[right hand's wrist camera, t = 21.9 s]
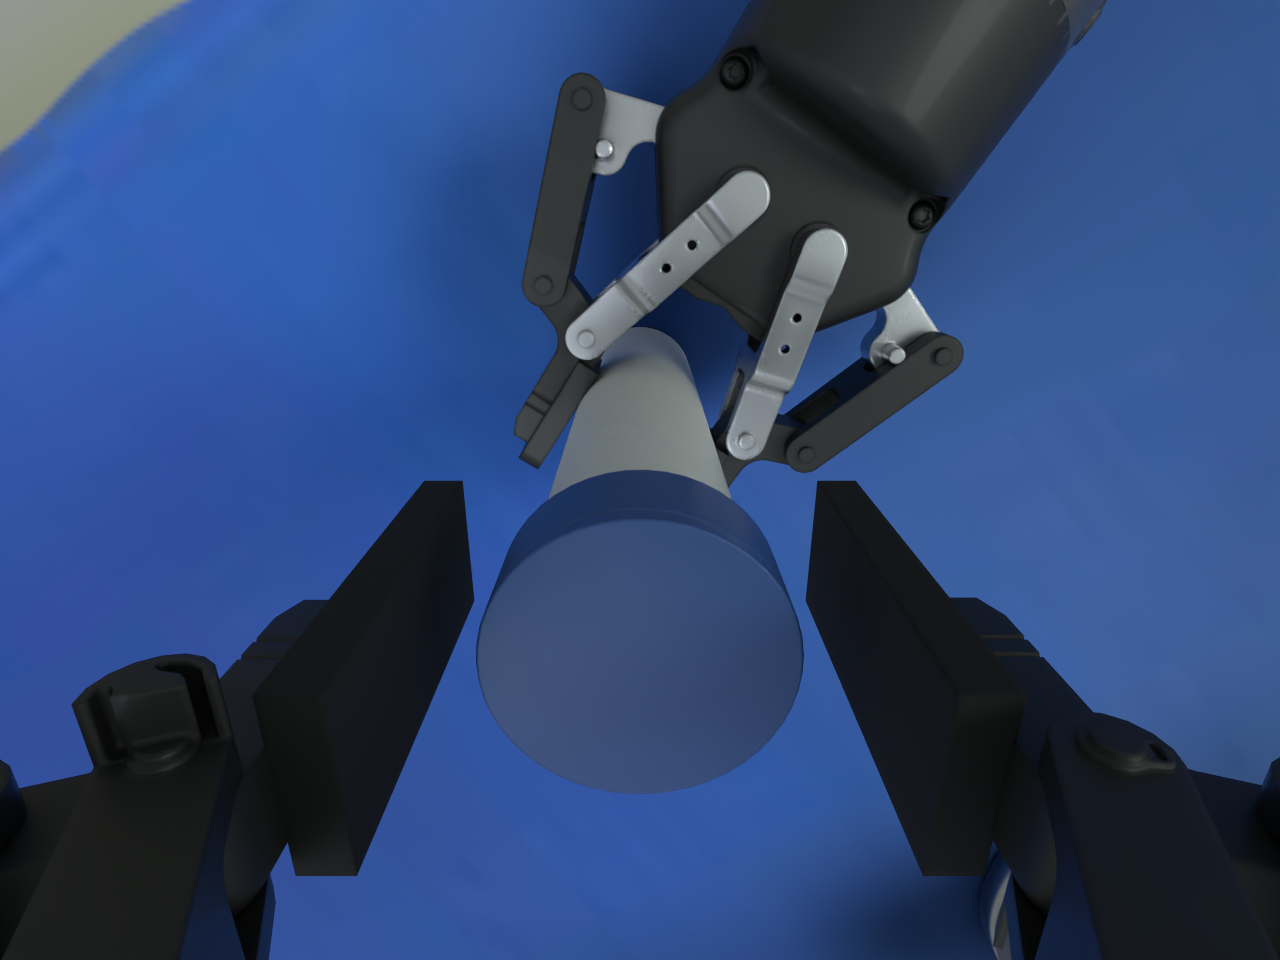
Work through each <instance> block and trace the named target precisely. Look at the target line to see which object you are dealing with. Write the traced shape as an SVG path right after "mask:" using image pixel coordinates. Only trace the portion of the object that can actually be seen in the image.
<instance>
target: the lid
mask: <svg viewBox="0 0 1280 960" xmlns="http://www.w3.org/2000/svg"><path fill="white" fill-rule="evenodd" d="M803 658H804V652H803V640H802V634H801V630H800V626H799V622H798V618H797V615H796V613H795V610H794V608H793V605H792V602H791V600H790V597H789V595H788V592H787V589H786V587H785V584H784V582H783V579H782V577H781V574H780V571H779V569H778V566H777V564H776V561H775V559H774V556H773V554H772V551H771V549H770V546H769V544H768V542H767V540H766V538H765V537H764V535H763V534H762V532H761V530H760V529H759V527H758V526H757V525H756V523H755V522H754V521H753V520H752V519H751V517H750V516H749V515H748V514H747V513H746V512H745V511H744V510H743V509H742V508H741V507H740V506H739V505H738V504H736V503H735V502H734V501H733V500H731V499H730V498H728V497H727V496H726V495H724V494H723V493H721V492H720V491H718V490H716V489H714V488H712V487H710V486H708V485H707V484H705V483H703V482H700V481H697V480H694V479H692V478H689V477H686V476H683V475H678V474H674V473H670V472H665V471H655V470H623V471H617V472H610V473H605V474H601V475H598V476H594V477H590V478H587V479H585V480H583V481H580V482H578V483H575V484H573V485H571V486H569V487H567V488H566V489H564V490H562V491H560V492H559V493H557V494H555V495H554V496H553V497H551V498H550V499H549V500H547V501H546V502H545V503H543V504H542V505H541V506H540V507H539V508H538V509H537V510H536V511H535V512H534V513H533V514H532V515H531V516H530V517H529V518H528V519H527V520H526V522H525V523H524V525H523V526H522V527H521V529H520V530H519V531H518V533H517V535H516V536H515V538H514V540H513V542H512V544H511V546H510V548H509V550H508V553H507V555H506V558H505V561H504V563H503V566H502V568H501V571H500V573H499V576H498V579H497V581H496V584H495V586H494V589H493V591H492V594H491V597H490V599H489V602H488V604H487V607H486V610H485V612H484V615H483V618H482V621H481V624H480V628H479V633H478V638H477V647H476V664H477V672H478V679H479V683H480V686H481V690H482V693H483V697H484V699H485V701H486V703H487V706H488V708H489V710H490V712H491V714H492V716H493V717H494V719H495V720H496V722H497V724H498V725H499V727H500V728H501V730H502V731H503V732H504V733H505V734H506V736H507V737H508V738H509V739H510V740H511V741H512V743H513V744H514V745H516V746H517V747H518V748H519V749H520V750H521V751H522V752H523V753H524V754H525V755H526V756H528V757H529V758H531V759H532V760H534V761H535V762H536V763H538V764H539V765H541V766H542V767H544V768H546V769H547V770H549V771H551V772H553V773H555V774H556V775H558V776H561V777H563V778H565V779H568V780H570V781H573V782H575V783H578V784H581V785H585V786H588V787H591V788H595V789H600V790H605V791H611V792H619V793H631V794H647V793H661V792H669V791H675V790H680V789H684V788H689V787H693V786H696V785H699V784H701V783H704V782H707V781H710V780H712V779H715V778H717V777H719V776H721V775H723V774H725V773H728V772H729V771H731V770H732V769H734V768H736V767H737V766H739V765H741V764H742V763H744V762H745V761H746V760H748V759H749V758H750V757H752V756H753V755H754V754H755V753H757V752H758V751H759V750H760V749H761V748H762V747H763V746H764V745H765V744H766V743H767V742H768V741H769V740H770V739H771V738H772V737H773V735H774V734H775V733H776V732H777V730H778V729H779V728H780V726H781V725H782V724H783V722H784V720H785V719H786V717H787V715H788V713H789V712H790V710H791V708H792V706H793V703H794V700H795V698H796V695H797V693H798V690H799V686H800V681H801V677H802V672H803Z"/></svg>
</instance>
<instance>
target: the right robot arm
mask: <svg viewBox="0 0 1280 960" xmlns="http://www.w3.org/2000/svg"><path fill="white" fill-rule="evenodd" d="M473 602H474V592H473V582H472V572H471V562H470V552H469V542H468V531H467V521H466V511H465V501H464V491H463V481H424V482H423V483H422V484H421V486H420V487H419V488H418V489H417V491H416V492H415V493H414V494H413V496H412V497H411V498H410V499H409V501H408V502H407V503H406V504H405V506H404V507H403V508H402V509H401V511H400V512H399V513H398V514H397V516H396V517H395V518H394V519H393V520H392V522H391V523H390V524H389V525H388V527H387V528H386V529H385V530H384V532H383V533H382V534H381V535H380V537H379V538H378V539H377V540H376V542H375V543H374V544H373V545H372V547H371V548H370V549H369V550H368V552H367V553H366V554H365V555H364V557H363V558H362V559H361V560H360V562H359V563H358V564H357V565H356V567H355V568H354V569H353V570H352V572H351V573H350V574H349V575H348V577H347V578H346V579H345V580H344V581H343V583H342V584H341V585H340V586H339V588H338V589H337V590H336V591H335V593H334V594H333V595H332V596H331V598H330V599H329V600H303V601H302V602H300V603H298V604H297V605H295V606H293V607H292V608H290V609H288V610H287V611H285V612H284V613H282V614H280V615H279V616H277V617H275V618H274V620H273V621H272V622H271V623H270V624H269V625H268V626H267V627H266V628H265V630H264V631H263V632H262V633H261V634H260V635H259V636H258V637H257V642H253V643H252V644H251V645H250V646H249V647H248V648H247V650H246V651H245V652H244V653H243V654H242V655H241V660H237V661H236V662H235V663H234V664H233V665H232V666H231V667H230V668H229V670H228V671H227V672H226V673H225V674H224V675H223V676H222V677H221V678H220V680H219V677H218V673H217V669H216V666H215V664H214V663H213V662H211V661H210V660H208V659H207V658H206V657H204V656H198V655H192V654H175V655H164V656H158V657H155V658H151V659H147V660H143V661H139V662H136V663H133V664H131V665H128V666H126V667H124V668H121V669H119V670H117V671H114V672H112V673H110V674H108V675H106V676H105V677H103V678H102V679H100V680H98V681H97V682H95V683H94V684H92V685H91V686H89V687H88V688H86V689H85V690H84V691H83V692H82V693H81V695H80V696H79V697H78V698H77V699H76V700H75V701H74V702H73V703H72V707H73V710H74V713H75V716H76V719H77V721H78V724H79V727H80V730H81V732H82V735H83V738H84V741H85V744H86V746H87V749H88V752H89V755H90V758H91V760H92V763H93V766H94V768H93V770H92V772H91V773H88V774H84V775H79V776H74V777H70V778H65V779H61V780H56V781H51V782H47V783H42V784H37V785H33V786H28V787H24V788H19V787H18V785H17V782H16V780H15V778H14V775H13V773H12V770H11V768H10V766H9V765H8V764H6V763H5V762H3V761H2V760H0V960H269V953H270V945H271V936H272V928H273V920H274V912H275V903H276V901H275V894H274V887H273V883H272V879H271V875H270V873H271V871H272V869H273V867H274V865H275V864H276V862H277V860H278V858H279V856H280V855H281V853H282V851H283V849H284V848H285V846H286V844H287V842H288V846H289V850H290V854H291V858H292V862H293V866H294V870H295V874H296V876H357V874H358V872H359V870H360V867H361V865H362V862H363V860H364V858H365V855H366V853H367V851H368V848H369V846H370V844H371V841H372V839H373V837H374V834H375V832H376V830H377V827H378V825H379V823H380V820H381V818H382V816H383V813H384V811H385V809H386V806H387V804H388V802H389V799H390V797H391V795H392V792H393V790H394V788H395V785H396V783H397V781H398V778H399V776H400V773H401V771H402V769H403V766H404V764H405V762H406V759H407V757H408V755H409V752H410V750H411V748H412V745H413V743H414V741H415V738H416V736H417V734H418V731H419V729H420V727H421V724H422V722H423V720H424V717H425V715H426V713H427V710H428V708H429V706H430V703H431V701H432V699H433V696H434V694H435V691H436V689H437V687H438V684H439V682H440V680H441V677H442V675H443V673H444V670H445V668H446V666H447V663H448V661H449V659H450V656H451V654H452V652H453V649H454V647H455V645H456V642H457V640H458V638H459V635H460V633H461V631H462V628H463V626H464V624H465V621H466V619H467V617H468V614H469V612H470V609H471V607H472V605H473ZM806 602H807V605H808V607H809V609H810V612H811V614H812V617H813V619H814V621H815V624H816V626H817V628H818V631H819V633H820V635H821V638H822V640H823V642H824V645H825V647H826V649H827V652H828V654H829V656H830V659H831V661H832V663H833V666H834V668H835V670H836V673H837V675H838V677H839V680H840V682H841V684H842V687H843V689H844V691H845V694H846V696H847V699H848V701H849V703H850V706H851V708H852V710H853V713H854V715H855V717H856V720H857V722H858V724H859V727H860V729H861V731H862V734H863V736H864V738H865V741H866V743H867V745H868V748H869V750H870V752H871V755H872V757H873V759H874V762H875V764H876V766H877V769H878V771H879V773H880V776H881V778H882V781H883V783H884V785H885V788H886V790H887V792H888V795H889V797H890V799H891V802H892V804H893V806H894V809H895V811H896V813H897V816H898V818H899V820H900V823H901V825H902V827H903V830H904V832H905V834H906V837H907V839H908V841H909V844H910V846H911V848H912V851H913V853H914V855H915V858H916V860H917V862H918V865H919V867H920V870H921V872H922V874H923V876H984V874H985V870H986V866H987V862H988V858H989V854H990V850H991V846H992V841H993V840H994V842H995V844H996V846H997V847H998V849H999V851H1000V853H999V854H998V856H997V857H996V858H995V860H994V861H993V863H992V865H991V867H990V868H989V870H988V872H987V874H986V877H985V879H984V882H983V885H982V889H981V893H980V900H979V912H980V919H981V923H982V926H983V929H984V931H985V934H986V936H987V938H988V940H989V942H990V944H991V946H992V948H993V950H994V953H995V955H996V957H997V959H998V960H1280V758H1278V759H1276V760H1275V761H1273V762H1272V763H1271V765H1270V768H1269V770H1268V773H1267V775H1266V778H1265V780H1264V782H1263V785H1258V784H1253V783H1248V782H1244V781H1239V780H1234V779H1230V778H1225V777H1220V776H1216V775H1211V774H1206V773H1202V772H1197V771H1193V770H1190V769H1187V767H1186V765H1185V764H1184V763H1183V761H1182V760H1181V759H1180V757H1179V756H1178V755H1177V753H1176V752H1175V751H1174V749H1172V748H1171V747H1170V746H1168V745H1167V744H1166V743H1164V742H1163V741H1162V740H1160V739H1159V738H1158V737H1157V736H1155V735H1154V734H1153V733H1151V732H1149V731H1147V730H1145V729H1143V728H1141V727H1139V726H1137V725H1135V724H1133V723H1130V722H1128V721H1126V720H1122V719H1119V718H1116V717H1113V716H1109V715H1106V714H1103V713H1094V712H1093V711H1092V710H1091V709H1090V708H1089V707H1088V706H1087V705H1086V704H1085V703H1084V702H1083V700H1082V699H1081V698H1080V697H1079V696H1078V695H1077V694H1076V693H1075V692H1074V691H1073V689H1072V688H1071V687H1070V686H1069V685H1068V684H1067V683H1066V682H1065V681H1064V679H1063V678H1062V677H1061V676H1060V675H1059V674H1058V673H1057V672H1056V671H1055V670H1054V668H1053V667H1052V666H1051V665H1050V664H1049V663H1048V662H1047V661H1046V660H1045V659H1044V657H1040V656H1039V652H1038V651H1037V650H1036V649H1035V648H1034V646H1033V645H1032V644H1031V643H1030V642H1029V641H1028V640H1024V635H1023V634H1022V633H1021V632H1020V631H1019V630H1018V629H1017V628H1016V627H1015V625H1014V624H1013V623H1012V622H1011V621H1010V620H1009V619H1008V618H1007V617H1006V616H1005V615H1004V614H1002V613H1001V612H999V611H997V610H996V609H994V608H993V607H991V606H989V605H988V604H986V603H984V602H983V601H981V600H979V599H978V598H949V596H948V595H947V594H946V593H945V591H944V590H943V589H942V588H941V586H940V585H939V584H938V583H937V581H936V580H935V579H934V578H933V577H932V575H931V574H930V573H929V572H928V570H927V569H926V568H925V567H924V565H923V564H922V563H921V562H920V560H919V559H918V558H917V557H916V555H915V554H914V553H913V552H912V550H911V549H910V548H909V547H908V545H907V544H906V543H905V542H904V540H903V539H902V538H901V537H900V535H899V534H898V533H897V532H896V530H895V529H894V528H893V527H892V525H891V524H890V523H889V522H888V520H887V519H886V518H885V517H884V516H883V514H882V513H881V512H880V511H879V509H878V508H877V507H876V506H875V504H874V503H873V502H872V501H871V499H870V498H869V497H868V496H867V494H866V493H865V492H864V491H863V489H862V488H861V487H860V486H859V484H858V483H857V482H856V481H817V491H816V501H815V511H814V521H813V531H812V542H811V552H810V562H809V572H808V582H807V592H806Z"/></svg>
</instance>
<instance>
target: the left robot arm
mask: <svg viewBox="0 0 1280 960" xmlns="http://www.w3.org/2000/svg"><path fill="white" fill-rule="evenodd" d="M1106 1H1107V0H750V2H749V4H748V6H747V7H746V9H745V11H744V12H743V14H742V16H741V17H740V19H739V21H738V22H737V24H736V26H735V27H734V29H733V31H732V32H731V34H730V36H729V37H728V39H727V41H726V42H725V44H724V46H723V47H722V49H721V51H720V53H719V54H718V56H717V58H716V59H715V61H714V63H713V64H712V66H711V67H710V69H709V70H708V72H707V73H706V74H705V75H704V76H703V77H702V78H701V79H700V80H699V81H697V82H696V83H695V84H694V85H692V86H691V87H689V88H687V89H686V90H684V91H682V92H680V93H679V94H677V95H676V96H674V97H673V98H672V99H671V100H670V101H669V102H668V103H667V105H666V106H665V107H664V106H661V105H658V104H654V103H651V102H648V101H644V100H641V99H638V98H634V97H631V96H628V95H624V94H621V93H618V92H614V91H611V90H608V89H605V88H604V87H603V86H602V85H601V83H600V82H599V81H598V80H597V79H596V78H595V77H594V76H592V75H590V74H587V73H576V74H573V75H571V76H570V77H568V78H567V79H566V80H565V81H564V83H563V84H562V86H561V89H560V92H559V97H558V102H557V107H556V112H555V117H554V122H553V127H552V132H551V137H550V143H549V148H548V153H547V158H546V163H545V168H544V173H543V178H542V183H541V188H540V193H539V198H538V203H537V208H536V213H535V218H534V224H533V229H532V234H531V239H530V244H529V249H528V254H527V259H526V264H525V269H524V274H523V279H522V289H523V292H524V295H525V296H526V298H527V299H528V300H529V301H530V302H531V303H532V304H534V305H536V306H538V307H540V309H541V310H542V311H543V312H544V314H545V315H546V316H547V318H548V319H549V320H550V321H551V323H552V324H553V325H554V327H555V329H556V332H557V335H558V347H557V350H556V352H555V354H554V356H553V358H552V359H551V361H550V363H549V364H548V366H547V368H546V369H545V371H544V373H543V374H542V376H541V378H540V379H539V381H538V382H537V384H536V386H535V387H534V389H533V391H532V392H531V394H530V396H529V397H528V399H527V401H526V402H525V404H524V406H523V407H522V409H521V411H520V412H519V414H518V416H517V417H516V422H515V429H514V435H516V436H517V437H519V438H521V439H522V440H524V441H526V444H525V446H524V448H523V450H522V452H521V454H520V456H519V459H521V460H522V461H524V462H526V463H528V464H529V465H531V466H533V467H534V468H536V469H538V468H539V467H540V466H541V464H542V463H543V461H544V459H545V458H546V456H547V455H548V453H549V452H550V450H551V448H552V447H553V445H554V444H555V442H556V441H557V439H558V437H559V436H560V434H561V433H562V431H563V429H564V428H565V426H566V425H567V423H568V422H569V420H570V418H571V417H572V415H573V414H574V412H575V411H576V409H577V407H578V406H579V404H580V402H581V401H582V399H583V397H584V396H585V395H586V393H587V392H588V390H589V389H590V387H591V385H592V384H593V382H594V381H595V379H596V377H597V376H598V374H599V370H600V366H601V362H602V359H600V358H601V356H602V355H603V353H604V352H605V350H606V349H607V348H609V347H610V346H611V345H612V344H613V343H614V342H615V341H616V340H617V339H619V338H620V337H621V336H622V335H623V334H624V333H625V332H626V331H628V330H629V329H630V328H631V327H632V326H633V325H634V324H635V323H637V322H638V321H639V320H640V319H641V318H642V317H644V316H645V315H646V314H648V313H650V312H651V311H652V310H654V309H655V308H656V307H657V306H658V305H660V304H661V303H662V302H663V301H664V300H665V299H666V298H667V297H669V296H670V295H671V294H672V293H673V292H674V291H675V290H676V289H678V288H679V287H681V288H682V289H684V290H685V291H687V292H688V293H690V294H691V295H692V296H694V297H695V298H697V299H700V300H703V301H706V302H709V303H712V304H715V305H718V306H721V307H723V308H724V309H725V310H726V311H727V312H728V314H729V315H730V316H731V317H732V318H733V319H734V321H735V322H736V323H737V324H738V325H739V326H740V327H741V329H743V330H744V331H745V334H744V337H743V340H742V342H741V345H740V348H739V351H738V355H737V360H736V367H735V370H734V373H733V376H732V379H731V382H730V384H729V387H728V390H727V393H726V395H725V398H724V401H723V404H722V407H721V409H720V412H719V415H718V421H717V422H716V424H715V425H714V427H713V428H712V429H711V428H710V427H709V430H710V433H711V436H712V439H713V442H714V445H715V448H716V452H717V455H718V458H719V461H720V464H721V467H722V470H723V474H724V477H725V480H726V483H727V486H728V488H729V486H730V485H731V483H732V482H733V481H734V479H735V478H736V477H737V475H738V474H739V473H740V471H741V470H742V469H743V468H744V467H745V466H746V465H748V464H749V463H751V462H754V461H757V460H768V461H773V462H778V463H782V464H787V465H789V466H790V467H791V468H792V469H794V470H795V471H797V472H802V473H807V472H811V471H814V470H816V469H817V468H819V467H820V466H821V465H823V464H824V463H826V462H827V461H828V460H830V459H831V458H833V457H834V456H835V455H837V454H838V453H840V452H841V451H843V450H844V449H845V448H847V447H848V446H850V445H851V444H852V443H854V442H855V441H857V440H858V439H859V438H861V437H862V436H864V435H865V434H866V433H868V432H869V431H871V430H872V429H873V428H875V427H876V426H878V425H879V424H881V423H882V422H883V421H885V420H886V419H888V418H889V417H890V416H892V415H893V414H895V413H896V412H897V411H899V410H900V409H902V408H903V407H904V406H906V405H907V404H909V403H910V402H911V401H913V400H914V399H916V398H917V397H919V396H920V395H921V394H923V393H924V392H926V391H927V390H928V389H930V388H931V387H933V386H934V385H935V384H937V383H938V382H940V381H941V380H942V379H944V378H945V377H947V376H948V375H949V374H951V373H952V372H954V371H955V370H956V369H957V368H958V367H959V365H960V364H961V361H962V359H963V347H962V345H961V343H960V341H959V340H958V339H956V338H955V337H952V336H950V335H947V334H945V333H942V332H940V331H939V330H937V328H936V327H935V325H934V324H933V322H932V321H931V319H930V317H929V316H928V314H927V313H926V311H925V310H924V308H923V307H922V305H921V304H920V302H919V301H918V299H917V297H916V296H915V294H914V293H913V291H912V290H911V288H910V286H911V284H912V283H913V281H914V279H915V276H916V273H917V268H918V263H919V258H920V254H921V251H922V248H923V245H924V243H925V240H926V238H927V236H928V235H929V233H930V231H931V230H932V229H933V227H934V226H935V225H936V224H937V222H938V221H939V220H940V219H941V218H942V216H943V215H944V214H945V213H946V212H947V210H948V209H949V208H950V207H951V205H952V204H953V203H954V202H955V200H956V199H957V198H958V196H959V195H960V193H961V192H962V191H963V189H964V188H965V187H966V185H967V184H968V183H969V181H970V180H971V179H972V177H973V176H974V175H975V174H976V172H977V171H978V170H979V168H980V167H981V166H982V164H983V163H984V162H985V160H986V159H987V158H988V156H989V155H990V154H991V152H992V151H993V150H994V148H995V147H996V146H997V144H998V143H999V142H1000V140H1001V139H1002V138H1003V136H1004V135H1005V134H1006V132H1007V131H1008V130H1009V128H1010V127H1011V126H1012V124H1013V123H1014V122H1015V120H1016V119H1017V118H1018V116H1019V115H1020V114H1021V112H1022V111H1023V110H1024V108H1025V107H1026V106H1027V104H1028V103H1029V102H1030V100H1031V99H1032V98H1033V96H1034V95H1035V94H1036V92H1037V91H1038V90H1039V88H1040V87H1041V86H1042V84H1043V83H1044V82H1045V80H1046V79H1047V78H1048V76H1049V75H1050V74H1051V72H1052V71H1053V70H1054V68H1055V67H1056V66H1057V64H1058V63H1059V62H1060V60H1061V59H1062V58H1063V56H1064V55H1065V54H1066V52H1067V51H1068V50H1069V49H1070V48H1071V47H1072V46H1073V45H1076V44H1077V43H1078V42H1079V41H1080V40H1081V39H1082V38H1083V37H1084V35H1085V34H1086V33H1087V32H1088V31H1089V29H1090V28H1091V27H1092V26H1093V24H1094V23H1095V22H1096V20H1097V19H1098V17H1099V16H1100V14H1101V13H1102V12H1101V10H1102V9H1103V7H1104V5H1105V3H1106ZM642 145H654V146H655V169H656V194H657V218H658V238H657V239H656V240H655V241H654V242H653V243H652V244H651V245H650V246H649V247H648V248H647V249H645V250H644V251H643V252H642V253H641V254H640V255H639V256H638V257H637V258H636V259H635V260H634V261H632V262H631V263H630V264H629V265H628V266H627V267H626V268H625V269H624V270H623V271H622V272H621V273H620V274H619V275H618V276H617V277H616V278H615V279H614V280H613V281H612V282H611V283H610V284H608V285H607V286H606V287H605V288H604V289H603V290H602V291H601V292H600V293H599V294H598V295H597V296H595V297H594V298H593V299H592V298H591V296H590V295H589V294H588V292H587V291H586V290H585V288H584V287H583V286H582V284H581V283H580V282H579V281H578V279H577V278H576V277H575V275H574V273H575V269H576V264H577V260H578V255H579V251H580V246H581V242H582V237H583V233H584V228H585V224H586V219H587V215H588V210H589V206H590V201H591V197H592V192H593V188H594V183H595V179H596V175H599V176H604V177H610V176H614V175H616V174H618V173H619V172H620V171H621V170H622V169H623V168H624V166H625V164H626V162H627V159H628V157H629V155H630V154H631V152H632V151H633V150H635V149H636V148H637V147H639V146H642ZM874 310H876V312H877V317H876V321H875V324H874V326H873V327H872V329H871V330H870V331H869V332H868V333H867V334H866V335H865V336H864V338H863V339H862V342H861V346H860V351H861V355H862V357H861V358H860V359H859V360H857V361H856V362H855V363H853V364H852V365H850V366H849V367H848V368H846V369H845V370H844V371H842V372H841V373H840V374H838V375H837V376H836V377H834V378H833V379H832V380H830V381H829V382H828V383H826V384H825V385H823V386H822V387H821V388H819V389H818V390H817V391H815V392H814V393H813V394H811V395H810V396H809V397H807V398H806V399H805V400H803V401H802V402H801V403H799V404H798V405H796V406H795V407H794V408H792V409H791V410H790V411H788V412H787V413H786V414H784V415H781V414H777V413H778V411H779V408H780V406H781V403H782V401H783V398H784V397H785V395H786V394H787V393H789V392H790V390H791V389H792V387H793V385H794V383H795V380H796V378H797V375H798V373H799V370H800V368H801V365H802V363H803V360H804V358H805V355H806V353H807V350H808V347H809V345H810V342H811V340H812V337H813V335H814V333H816V332H818V331H821V330H824V329H826V328H829V327H832V326H834V325H837V324H839V323H842V322H845V321H847V320H850V319H853V318H855V317H858V316H861V315H863V314H866V313H869V312H871V311H874ZM783 345H786V348H785V349H784V350H782V348H783Z"/></svg>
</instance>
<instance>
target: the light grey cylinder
mask: <svg viewBox="0 0 1280 960" xmlns="http://www.w3.org/2000/svg"><path fill="white" fill-rule="evenodd" d="M600 359H602V362H601V366H600V370H599V374H598V376H597V377H596V379H595V381H594V382H593V384H592V385H591V387H590V389H589V390H588V392H587V393H586V395H585V396H584V397H583V399H582V401H581V402H580V404H579V406H578V408H577V411H576V414H575V417H574V421H573V424H572V427H571V430H570V433H569V436H568V439H567V442H566V446H565V449H564V452H563V455H562V458H561V461H560V464H559V467H558V471H557V474H556V477H555V480H554V483H553V486H552V489H551V492H550V496H549V499H550V498H551V497H553V496H554V495H555V494H557V493H559V492H560V491H562V490H564V489H566V488H567V487H569V486H571V485H573V484H575V483H578V482H580V481H583V480H585V479H587V478H590V477H594V476H598V475H601V474H605V473H610V472H617V471H623V470H655V471H665V472H670V473H674V474H678V475H683V476H686V477H689V478H692V479H694V480H697V481H700V482H703V483H705V484H707V485H708V486H710V487H712V488H714V489H716V490H718V491H720V492H721V493H723V494H724V495H726V496H727V497H728V498H730V499H731V496H730V492H729V489H728V486H727V483H726V480H725V477H724V474H723V470H722V467H721V464H720V461H719V458H718V455H717V452H716V448H715V445H714V442H713V439H712V436H711V433H710V430H709V426H708V423H707V420H706V417H705V414H704V411H703V408H702V404H701V401H700V398H699V395H698V392H697V389H696V386H695V382H694V379H693V376H692V373H691V370H690V367H689V364H688V361H687V358H686V356H685V354H684V352H683V350H682V349H681V347H680V346H679V345H678V344H677V343H676V342H675V341H674V340H673V339H672V338H671V337H670V336H668V335H666V334H665V333H663V332H661V331H658V330H655V329H652V328H646V327H634V328H630V329H629V330H628V331H626V332H625V333H624V334H623V335H622V336H621V337H620V338H619V339H617V340H616V341H615V342H614V343H613V344H612V345H611V346H610V347H609V348H607V349H606V350H605V352H604V353H603V355H602V356H601V358H600ZM549 499H548V500H549ZM731 500H732V499H731Z"/></svg>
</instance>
